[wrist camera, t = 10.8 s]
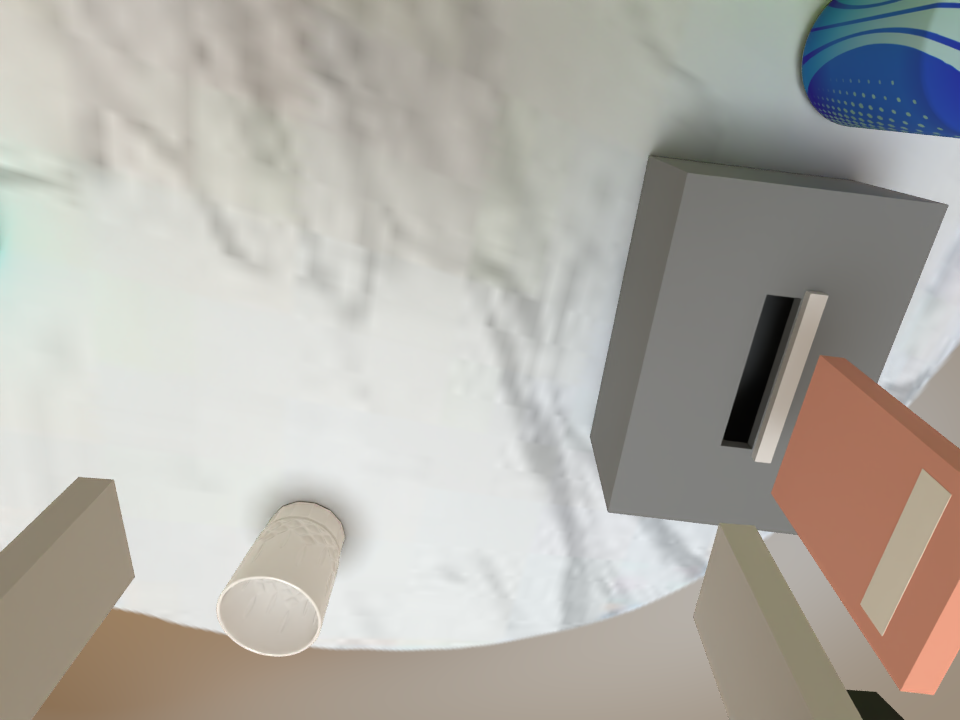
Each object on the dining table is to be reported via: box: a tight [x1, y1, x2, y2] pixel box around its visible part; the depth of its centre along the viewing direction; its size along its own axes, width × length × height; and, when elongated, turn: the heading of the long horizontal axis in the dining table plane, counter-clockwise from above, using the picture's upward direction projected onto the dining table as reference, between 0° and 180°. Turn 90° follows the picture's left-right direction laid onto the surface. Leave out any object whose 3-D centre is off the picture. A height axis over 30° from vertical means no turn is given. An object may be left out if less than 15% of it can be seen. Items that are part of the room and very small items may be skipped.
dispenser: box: [590, 156, 948, 535], centre depth 42 cm, size 22×14×11 cm, turn 174°
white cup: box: [216, 502, 345, 656], centre depth 52 cm, size 8×8×10 cm
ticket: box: [771, 355, 960, 695], centre depth 26 cm, size 8×1×12 cm, turn 174°
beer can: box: [802, 0, 960, 138], centre depth 32 cm, size 8×8×16 cm
